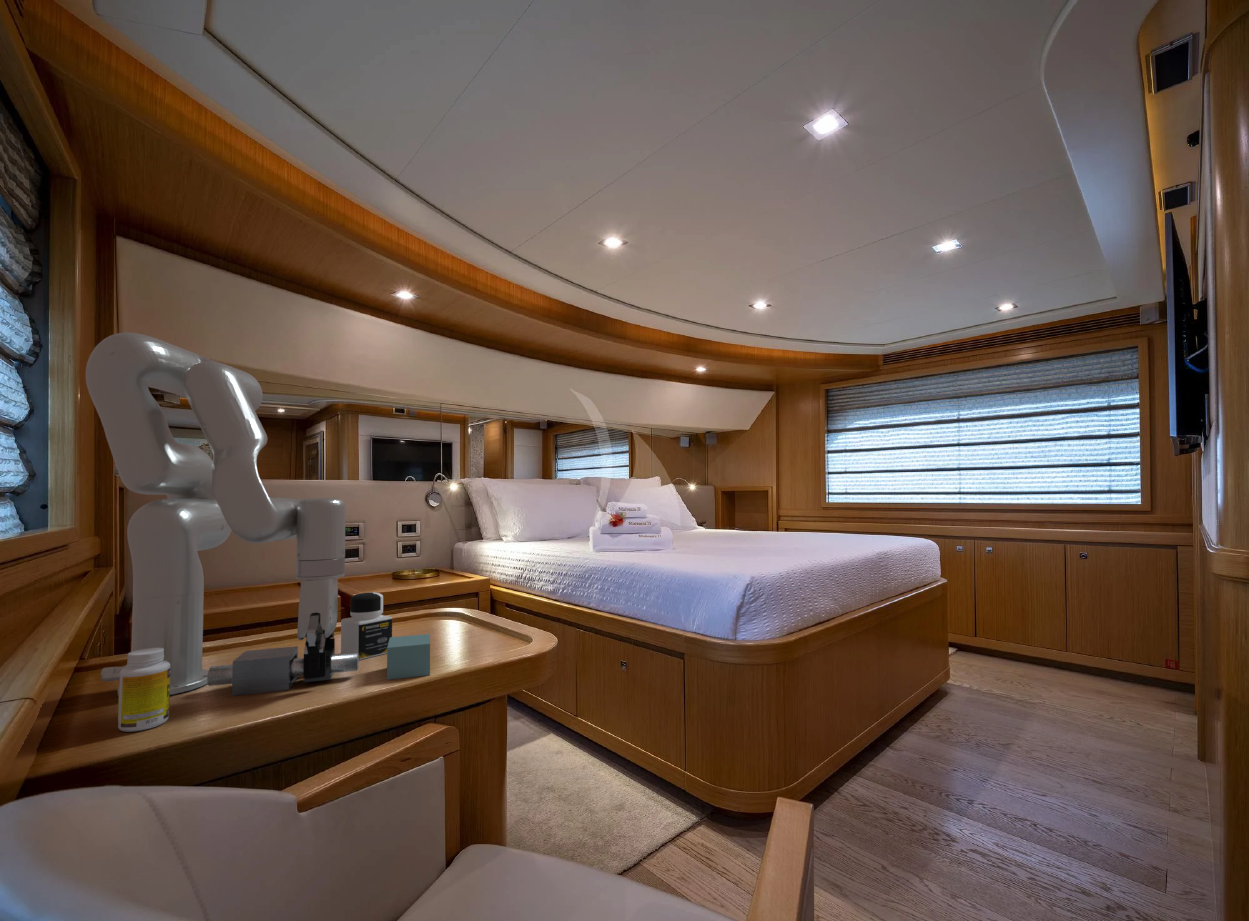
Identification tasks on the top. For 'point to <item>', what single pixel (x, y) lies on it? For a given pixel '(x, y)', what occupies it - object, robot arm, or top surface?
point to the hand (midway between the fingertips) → (319, 669)
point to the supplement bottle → (144, 690)
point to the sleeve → (263, 671)
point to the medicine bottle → (366, 627)
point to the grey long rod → (293, 668)
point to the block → (408, 656)
